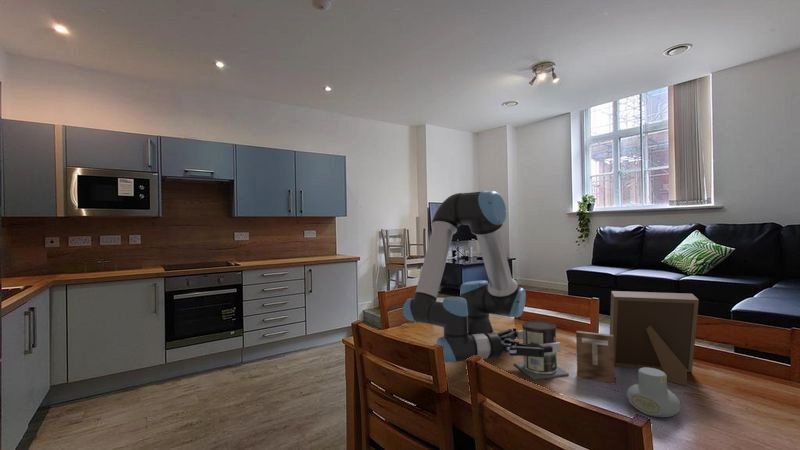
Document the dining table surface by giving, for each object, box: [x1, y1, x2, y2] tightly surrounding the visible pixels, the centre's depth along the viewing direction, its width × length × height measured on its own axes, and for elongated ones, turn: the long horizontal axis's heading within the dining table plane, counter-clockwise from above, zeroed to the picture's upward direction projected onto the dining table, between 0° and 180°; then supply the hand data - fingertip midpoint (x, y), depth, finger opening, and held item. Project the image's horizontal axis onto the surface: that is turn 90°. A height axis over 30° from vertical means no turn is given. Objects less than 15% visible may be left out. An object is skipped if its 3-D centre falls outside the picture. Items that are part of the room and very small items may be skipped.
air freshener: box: [626, 367, 681, 418], centre depth 89 cm, size 11×8×10 cm
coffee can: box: [521, 320, 558, 374], centre depth 116 cm, size 10×10×14 cm
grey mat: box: [513, 361, 570, 380], centre depth 116 cm, size 12×12×1 cm
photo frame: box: [609, 290, 700, 386], centre depth 111 cm, size 15×22×25 cm
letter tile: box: [575, 330, 616, 385], centre depth 109 cm, size 10×5×14 cm, turn 60°
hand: (546, 339), depth 116 cm, fingers open, 13 cm apart
